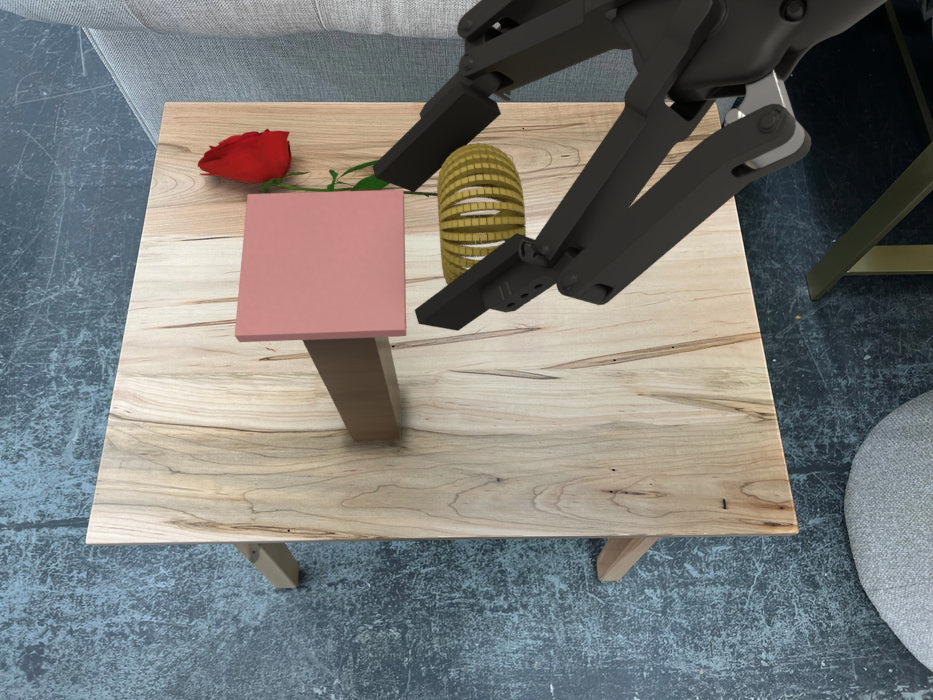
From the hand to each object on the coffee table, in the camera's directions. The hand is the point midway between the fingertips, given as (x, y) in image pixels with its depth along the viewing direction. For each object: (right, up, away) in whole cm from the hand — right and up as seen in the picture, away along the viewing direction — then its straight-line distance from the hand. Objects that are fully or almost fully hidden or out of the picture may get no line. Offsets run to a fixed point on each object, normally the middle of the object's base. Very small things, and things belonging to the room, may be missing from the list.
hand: (414, 246), depth 34 cm
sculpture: (+3, -1, +4) cm, 5 cm away
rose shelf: (-6, 0, +9) cm, 11 cm away
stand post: (-7, -12, +38) cm, 41 cm away
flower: (-15, +14, +50) cm, 54 cm away
